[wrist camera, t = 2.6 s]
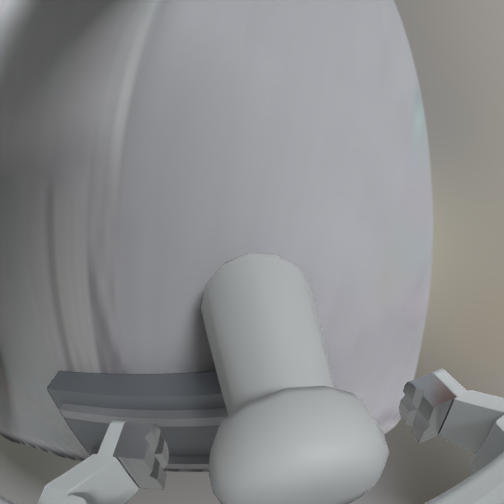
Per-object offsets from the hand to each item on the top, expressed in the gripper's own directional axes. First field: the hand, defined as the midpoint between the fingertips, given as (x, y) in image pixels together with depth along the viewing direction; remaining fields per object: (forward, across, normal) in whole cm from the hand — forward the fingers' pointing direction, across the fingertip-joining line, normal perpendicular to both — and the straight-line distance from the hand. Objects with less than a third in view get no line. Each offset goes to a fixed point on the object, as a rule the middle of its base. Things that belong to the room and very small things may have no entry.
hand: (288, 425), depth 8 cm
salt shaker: (+10, 0, -1) cm, 10 cm away
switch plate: (+10, +6, +9) cm, 15 cm away
